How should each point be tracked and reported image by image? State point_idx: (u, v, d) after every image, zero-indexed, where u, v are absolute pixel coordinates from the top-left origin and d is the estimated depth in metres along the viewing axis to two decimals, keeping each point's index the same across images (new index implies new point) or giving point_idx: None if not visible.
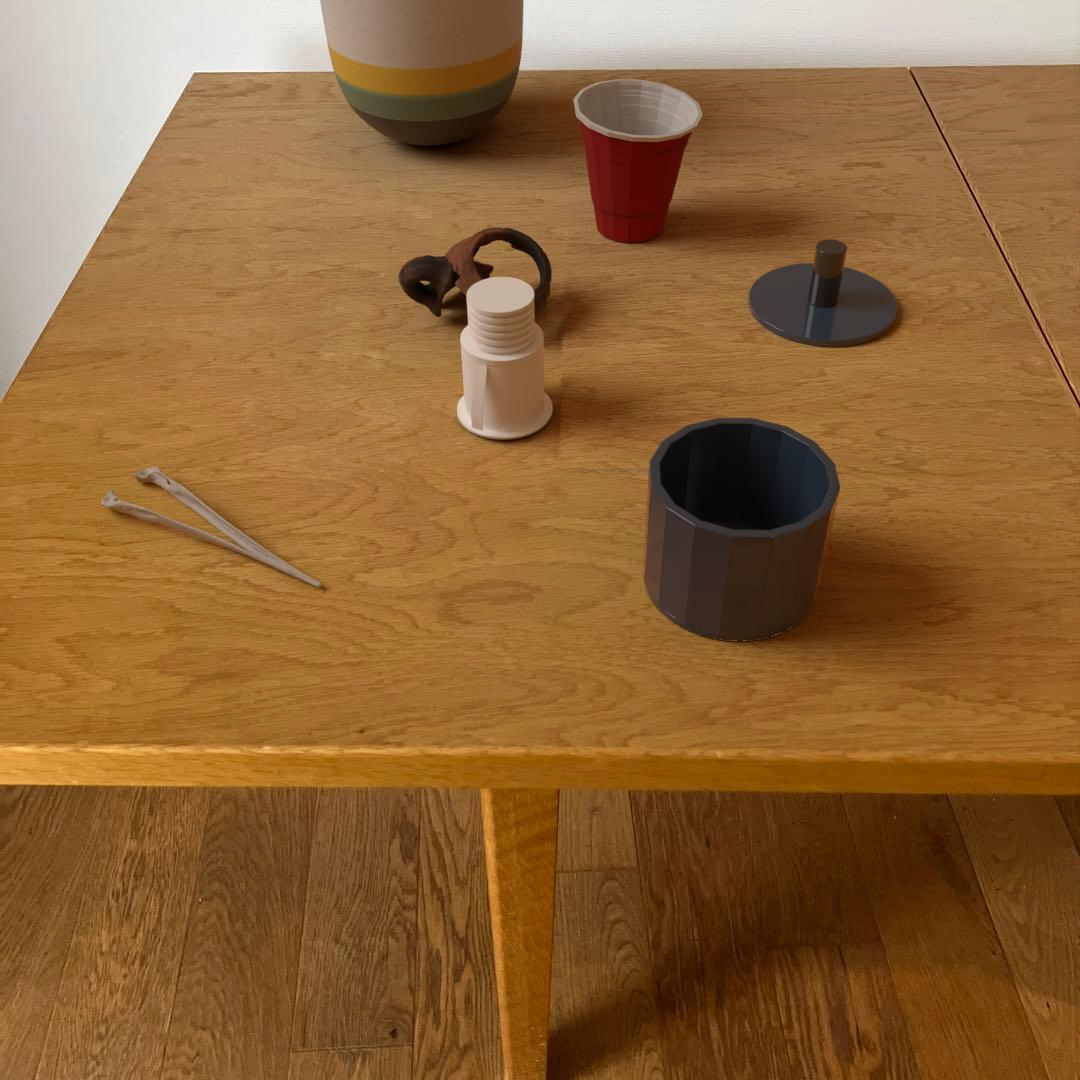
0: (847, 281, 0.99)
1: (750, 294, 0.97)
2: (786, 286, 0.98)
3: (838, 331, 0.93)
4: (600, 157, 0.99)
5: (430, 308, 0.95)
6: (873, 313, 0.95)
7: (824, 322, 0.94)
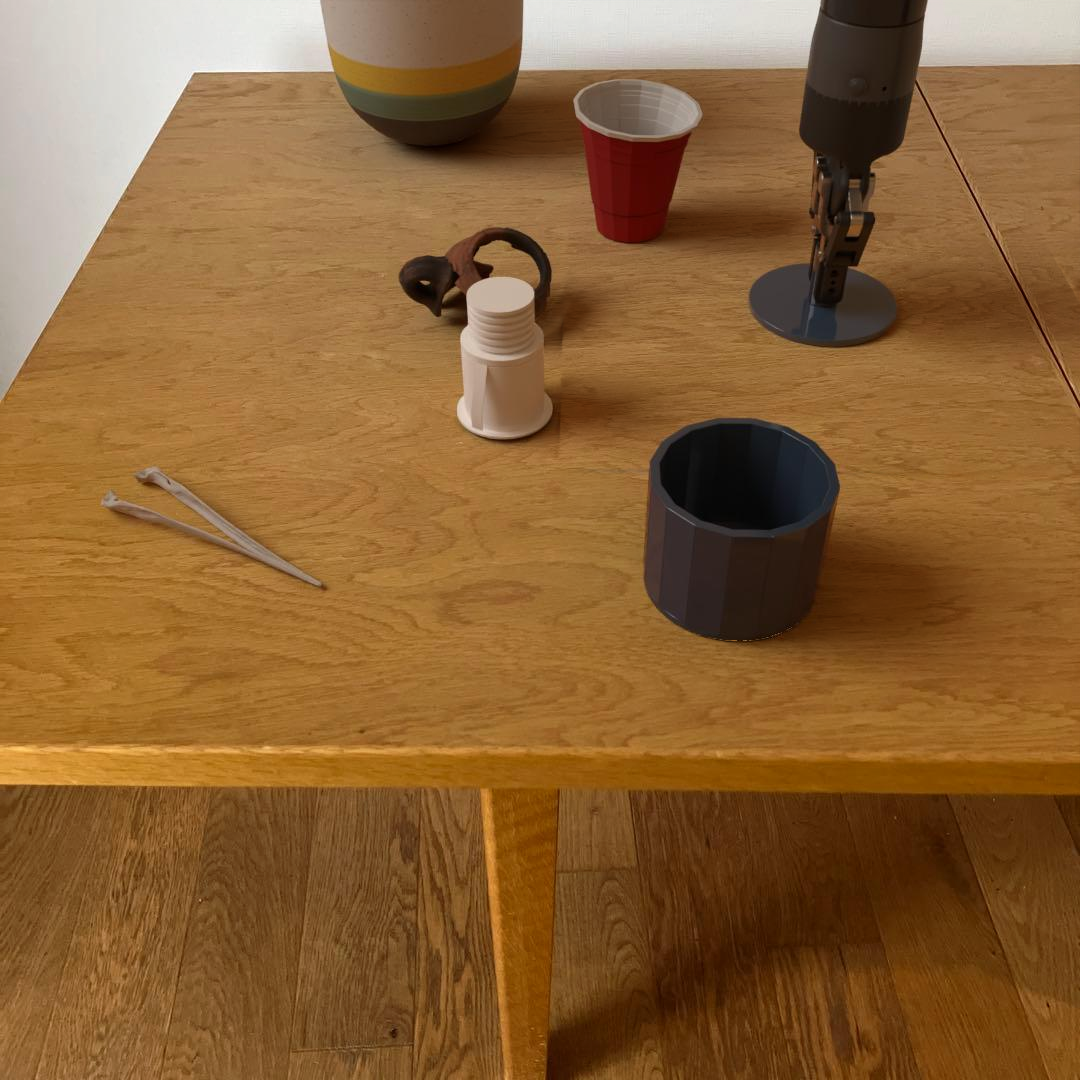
0: (847, 281, 0.99)
1: (750, 294, 0.97)
2: (786, 286, 0.98)
3: (838, 331, 0.93)
4: (600, 157, 0.99)
5: (430, 308, 0.95)
6: (873, 313, 0.95)
7: (824, 322, 0.94)
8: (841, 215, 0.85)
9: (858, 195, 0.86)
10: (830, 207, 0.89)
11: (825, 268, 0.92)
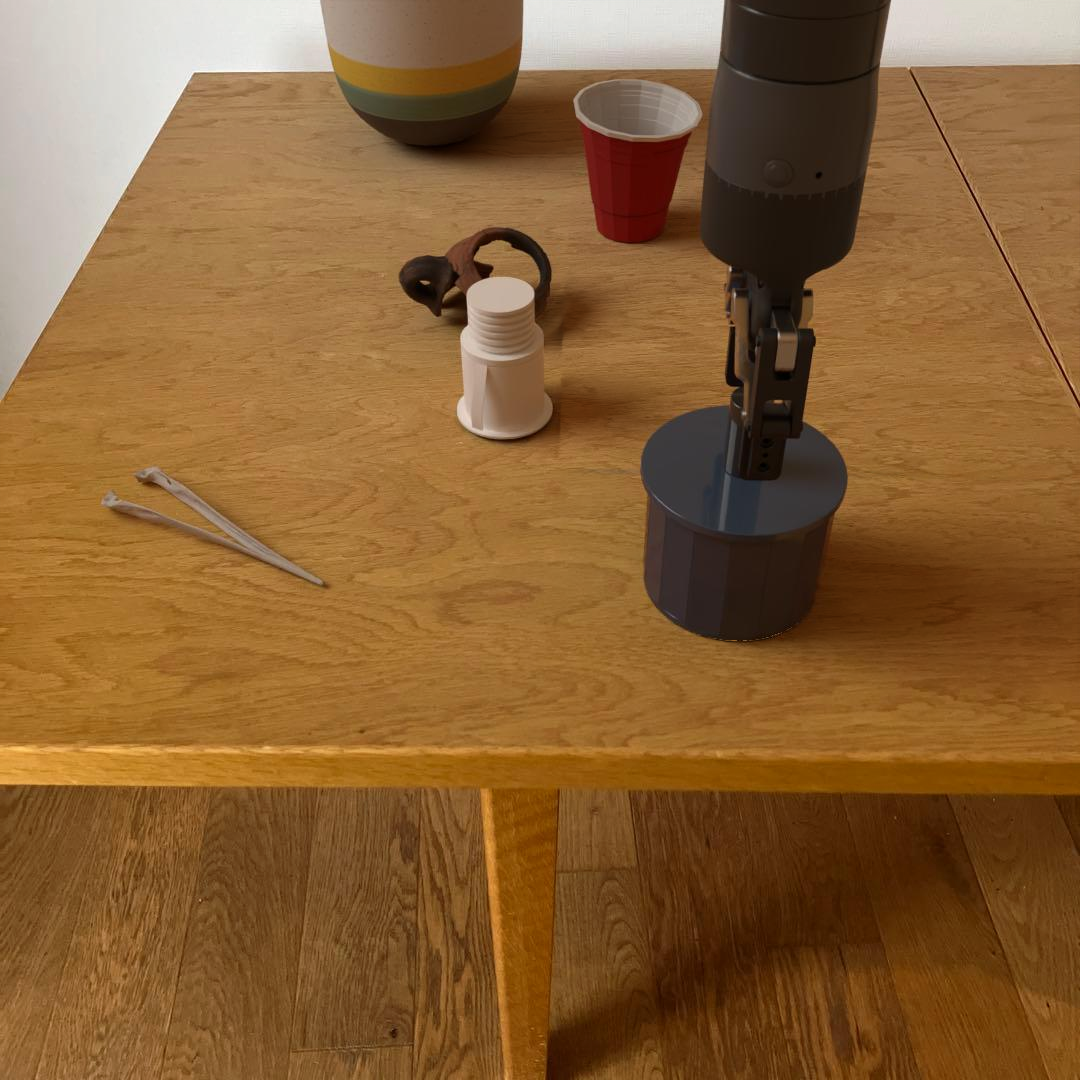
0: None
1: (643, 456, 0.70)
2: (694, 443, 0.70)
3: (762, 519, 0.65)
4: (600, 157, 0.99)
5: (430, 308, 0.96)
6: (813, 488, 0.67)
7: (743, 504, 0.66)
8: (763, 329, 0.55)
9: (787, 313, 0.57)
10: (748, 339, 0.60)
11: None
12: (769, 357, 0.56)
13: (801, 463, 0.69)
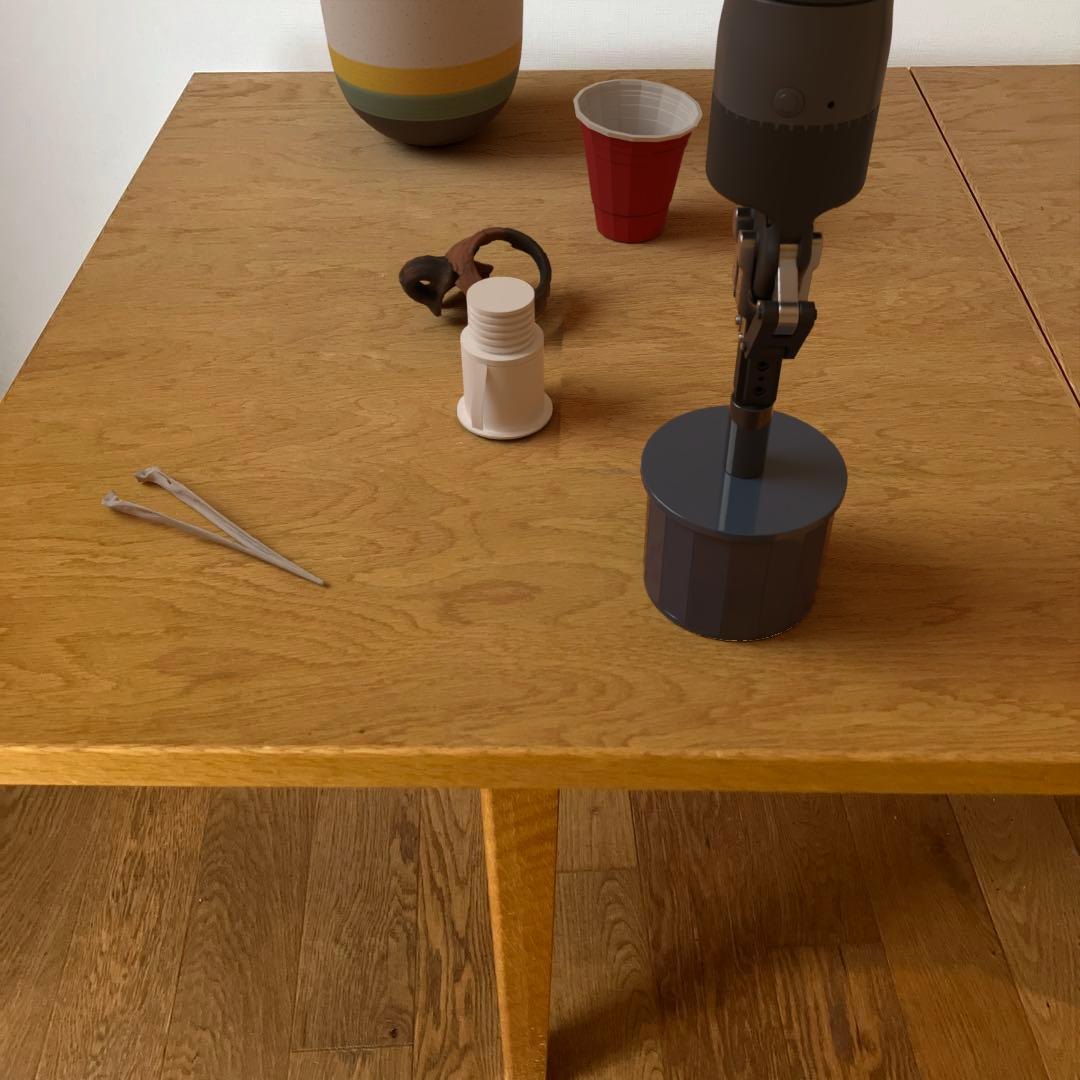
0: (780, 435, 0.71)
1: (643, 456, 0.70)
2: (694, 443, 0.70)
3: (762, 519, 0.65)
4: (600, 157, 0.99)
5: (430, 308, 0.96)
6: (813, 488, 0.67)
7: (743, 504, 0.66)
8: (764, 309, 0.55)
9: (793, 273, 0.55)
10: (755, 283, 0.58)
11: (748, 359, 0.63)
12: (768, 330, 0.56)
13: (801, 463, 0.69)
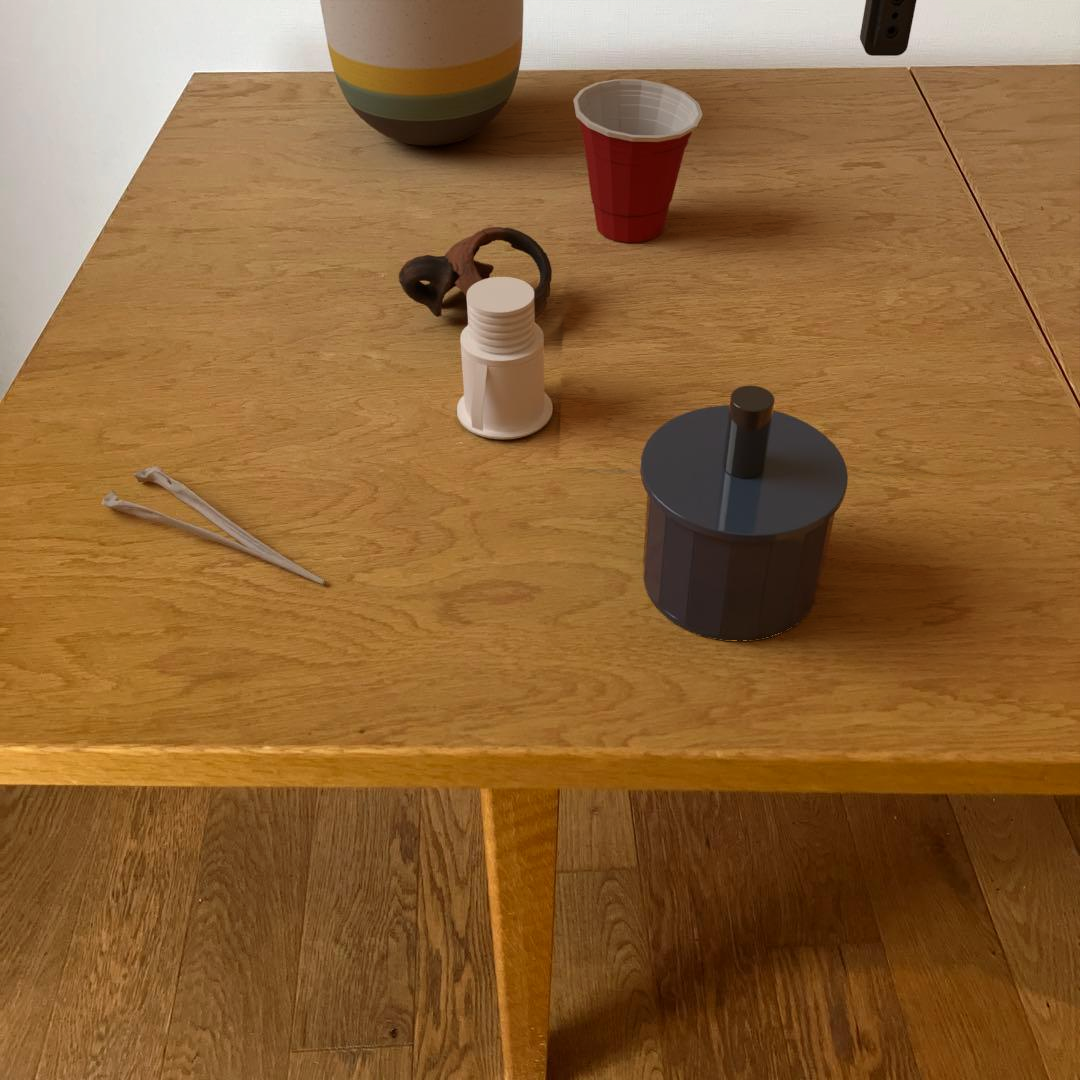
0: (780, 435, 0.71)
1: (643, 456, 0.70)
2: (694, 443, 0.70)
3: (762, 519, 0.65)
4: (600, 157, 0.99)
5: (430, 308, 0.96)
6: (813, 488, 0.67)
7: (743, 504, 0.66)
8: None
9: None
10: None
11: None
12: None
13: (801, 463, 0.69)
